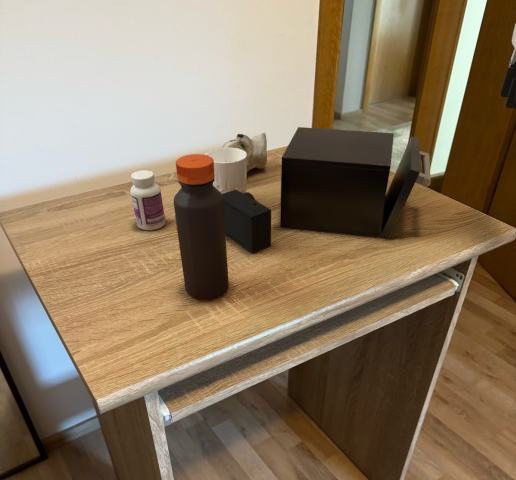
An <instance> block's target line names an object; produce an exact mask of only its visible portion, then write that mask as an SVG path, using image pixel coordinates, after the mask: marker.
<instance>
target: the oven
mask: <svg viewBox="0 0 516 480" xmlns="http://www.w3.org/2000/svg"><path fill="white" fill-rule="evenodd" d="M394 136H395V133H394V132H381V131H379V132H378V131H364V130H349V129H348V130H347V129H335V128H321V127H320V128H318V127H306V126H305V127H302V126H297V129H296V131H295V133H294V134H293V135H292V138H291V140H290V141H289V143H288V145H287V146H286V149H285V150H284V152H283V154H282V156H281V163H280V164H281V168H280V173H281V174H280V213H279V214H280V216H279V218H280V220H279V228H282V229H291V230H292V229H293V230H301V231H310V232H320V233H331V234H341V235H349V236H350V235H351V236H358V237H359V236H360V237H370V238H379V237H380V233H381V227H382V218H383V209H384V203H385V197H386V194H387V191H388V186H389V185H388V184H389V179H390V173H391V166H392V157H393V149H394V148H393V147H394Z"/></svg>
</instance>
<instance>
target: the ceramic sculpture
mask: <svg viewBox="0 0 516 480" xmlns="http://www.w3.org/2000/svg"><path fill="white" fill-rule="evenodd" d="M267 142H268V140H267V134H266V132H262V133H260V134H257V135H254V136H252V137H251V138H250V137H249V135H247V134H246V135H245V134H243V133H238V134H236V137H235V139H230V140H229V141H227V142H225V143H224V144H223V146H222V147H221V148H226V147H229V148H238V149H241V150H243V151H245V152H246V153H247V172H249V171H251V170H253V169H254V168H255V169H260V170H261V169H264V168H265V167H266V165H267V163H268V143H267Z"/></svg>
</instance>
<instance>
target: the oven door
mask: <svg viewBox="0 0 516 480" xmlns="http://www.w3.org/2000/svg"><path fill="white" fill-rule="evenodd" d="M420 147H421V146H420V138H418V137H415V136H410V138H409V140H408V143H407V145H406V147H405V149H404V152H403V155H402V156H401V159H400V161H399V164H398V165H397V169H396V171H395V174H394V176H393V178H392V180H391V182H390V184H389V187H388V188H387V191H386V197H385V203H384V209H383V214H382V220H381V226H380V237H381V238H384V239H388V240H389V239H390V237H391V235H392V233H393V231H394V229H395V227H396V224H397V222H398V220H399V218H400V216H401V215H402V212H403V210H404V208H405V206H406V204H407V202H408V199H409V196H410V195H411V193H412V191H413V189H414V186H415V185H416V184H417V185H421V186H423V187H429V186H431V183H432V179H431V177H432V176H431V162H430V161H431V160H430V153H429V152H424V151H422V150H420V149H421V148H420Z"/></svg>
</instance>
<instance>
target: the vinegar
mask: <svg viewBox="0 0 516 480" xmlns="http://www.w3.org/2000/svg"><path fill="white" fill-rule="evenodd" d="M175 168H176V169H175V170H176V177H177V181H178V184H179V185H180V188H179V190H178V191H177V193H175V195H174V197H173V210H174V217H175V224H176V232H177V239H178V247H179V253H180V260H181V261H180V262H181V267H182V275H183V282H184V291H185V292H186V294H187V296H189V297H190V298H192V299H194V300H197V301H202V302H207V301H208V302H209V301H214V300H218V299H220V298H222V297H223V296H224V295H226V294H227V293H228V290H229V288H230V284H229V267H228V265H229V264H228V252H227V236H226V233H225V218H224V202H223V195H222V194H221V192H220V191H219V190H218V189H216V188H215V187H214V186H213V182H214V181H215V172H214V160H213V158H211V157H210V156H208V155H205V154H203V153H192V154H186V155H182V156H180V157H178V158H177V159H176V160H175Z"/></svg>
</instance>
